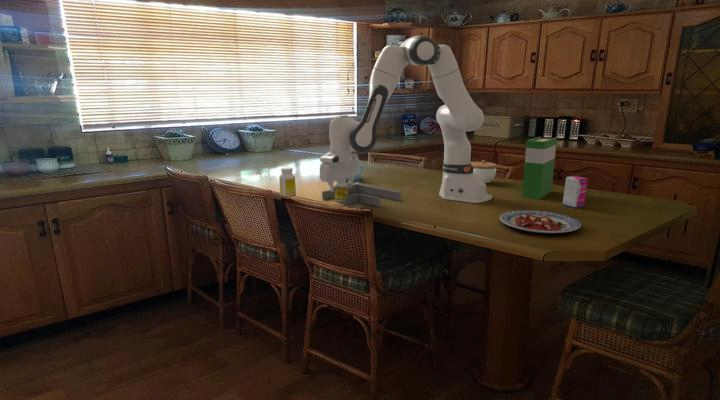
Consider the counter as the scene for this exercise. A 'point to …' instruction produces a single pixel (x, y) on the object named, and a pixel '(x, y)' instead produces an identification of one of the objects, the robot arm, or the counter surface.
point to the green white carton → (539, 167)
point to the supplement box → (575, 191)
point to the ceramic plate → (540, 221)
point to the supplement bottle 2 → (341, 190)
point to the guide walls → (362, 197)
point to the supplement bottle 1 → (287, 182)
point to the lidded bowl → (485, 170)
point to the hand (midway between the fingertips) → (341, 189)
